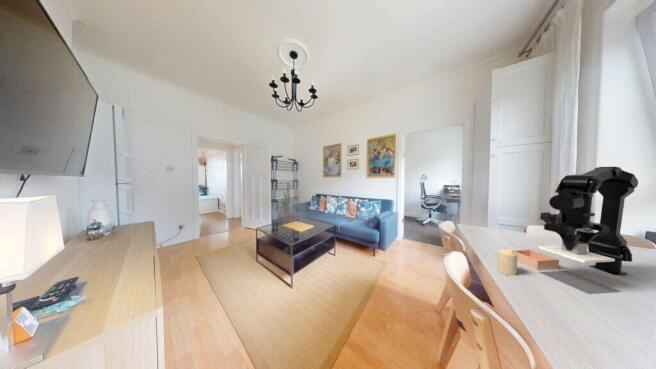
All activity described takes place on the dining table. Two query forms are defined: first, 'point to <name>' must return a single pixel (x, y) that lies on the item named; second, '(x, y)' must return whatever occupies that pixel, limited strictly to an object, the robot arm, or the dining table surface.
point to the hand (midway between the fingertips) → (573, 249)
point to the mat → (579, 282)
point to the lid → (577, 253)
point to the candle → (507, 262)
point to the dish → (536, 260)
